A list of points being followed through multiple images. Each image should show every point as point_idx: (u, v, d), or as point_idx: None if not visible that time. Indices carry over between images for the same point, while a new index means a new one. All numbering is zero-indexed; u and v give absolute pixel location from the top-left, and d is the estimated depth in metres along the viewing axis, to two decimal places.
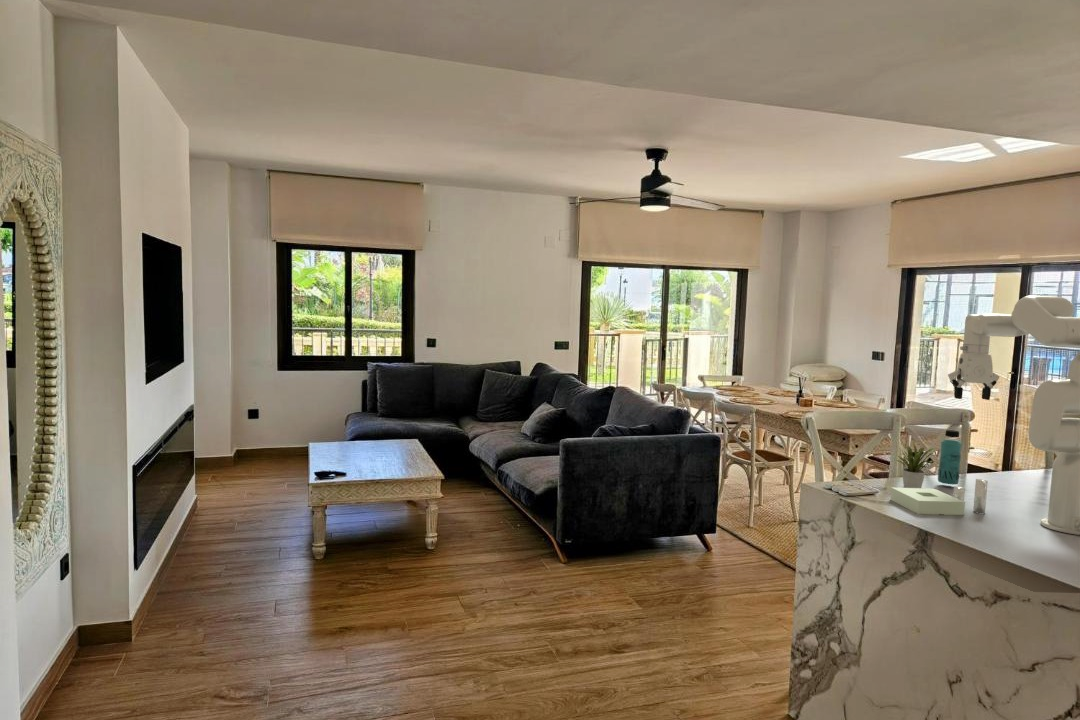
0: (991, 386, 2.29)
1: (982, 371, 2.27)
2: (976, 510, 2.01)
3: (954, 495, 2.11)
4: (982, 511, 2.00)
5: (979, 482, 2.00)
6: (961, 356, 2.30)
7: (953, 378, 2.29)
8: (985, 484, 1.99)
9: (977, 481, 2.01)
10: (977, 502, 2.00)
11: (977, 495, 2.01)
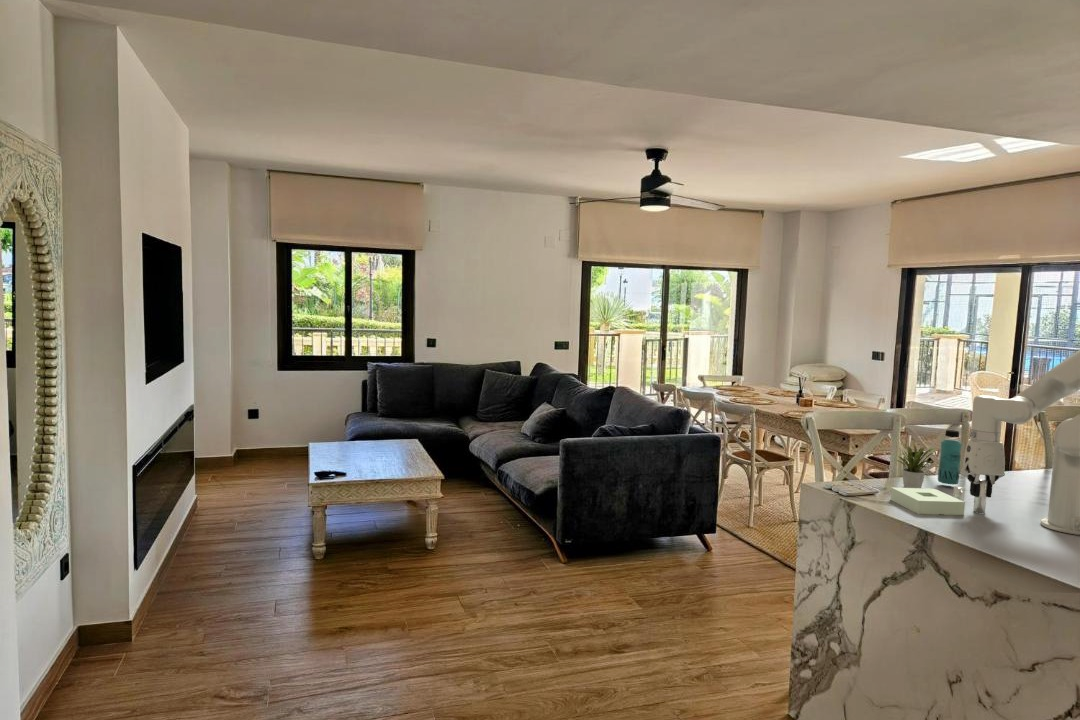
0: (993, 482, 2.00)
1: (993, 462, 1.98)
2: (976, 510, 2.01)
3: (954, 495, 2.11)
4: (982, 511, 2.00)
5: (979, 482, 2.00)
6: (968, 443, 2.00)
7: (967, 474, 2.00)
8: (985, 484, 1.99)
9: None
10: (977, 502, 2.00)
11: None
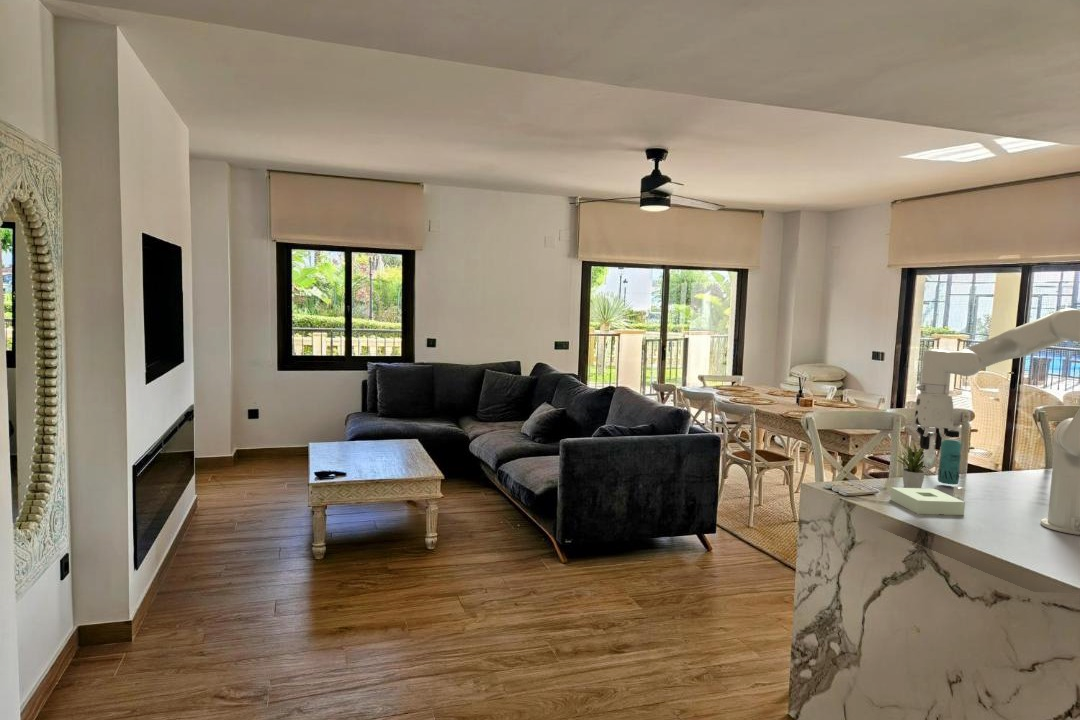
0: (942, 435, 2.02)
1: (941, 414, 2.00)
2: (926, 462, 2.04)
3: (954, 495, 2.11)
4: (931, 463, 2.03)
5: (928, 435, 2.03)
6: (918, 396, 2.03)
7: (917, 427, 2.03)
8: (934, 436, 2.02)
9: None
10: (927, 454, 2.03)
11: None
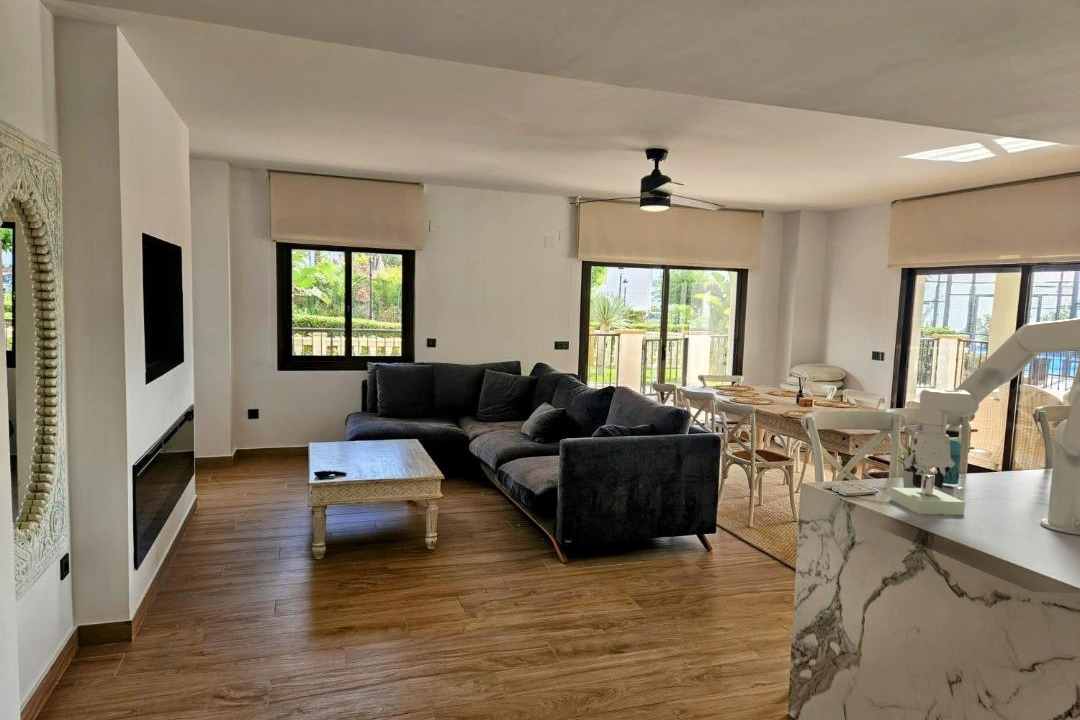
0: (944, 473, 2.03)
1: (938, 454, 2.01)
2: None
3: (954, 495, 2.11)
4: None
5: (926, 477, 2.04)
6: (915, 436, 2.04)
7: (910, 464, 2.04)
8: (931, 479, 2.03)
9: (924, 476, 2.04)
10: None
11: (923, 490, 2.04)
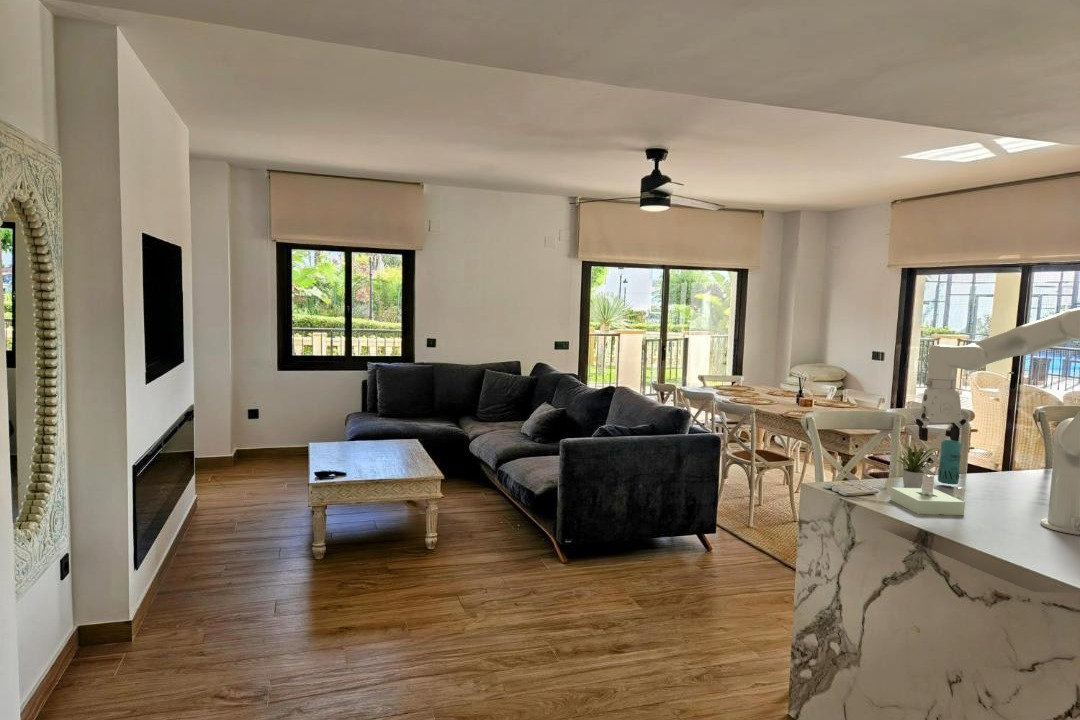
0: (960, 426, 2.02)
1: (949, 409, 2.00)
2: None
3: (954, 495, 2.11)
4: None
5: (926, 477, 2.04)
6: (925, 392, 2.03)
7: (917, 417, 2.02)
8: (931, 479, 2.03)
9: (924, 476, 2.04)
10: None
11: (923, 490, 2.04)
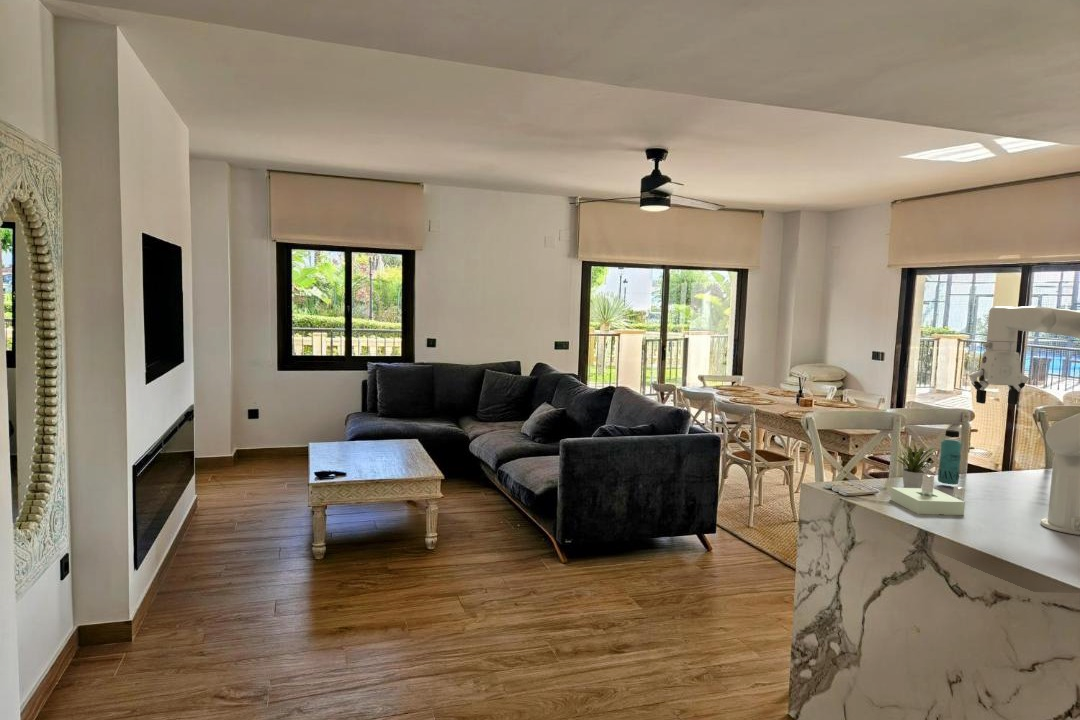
0: (1019, 389, 2.00)
1: (1009, 372, 1.98)
2: None
3: (954, 495, 2.11)
4: None
5: (926, 477, 2.04)
6: (984, 354, 2.00)
7: (975, 380, 2.00)
8: (931, 479, 2.03)
9: (924, 476, 2.04)
10: None
11: (923, 490, 2.04)
